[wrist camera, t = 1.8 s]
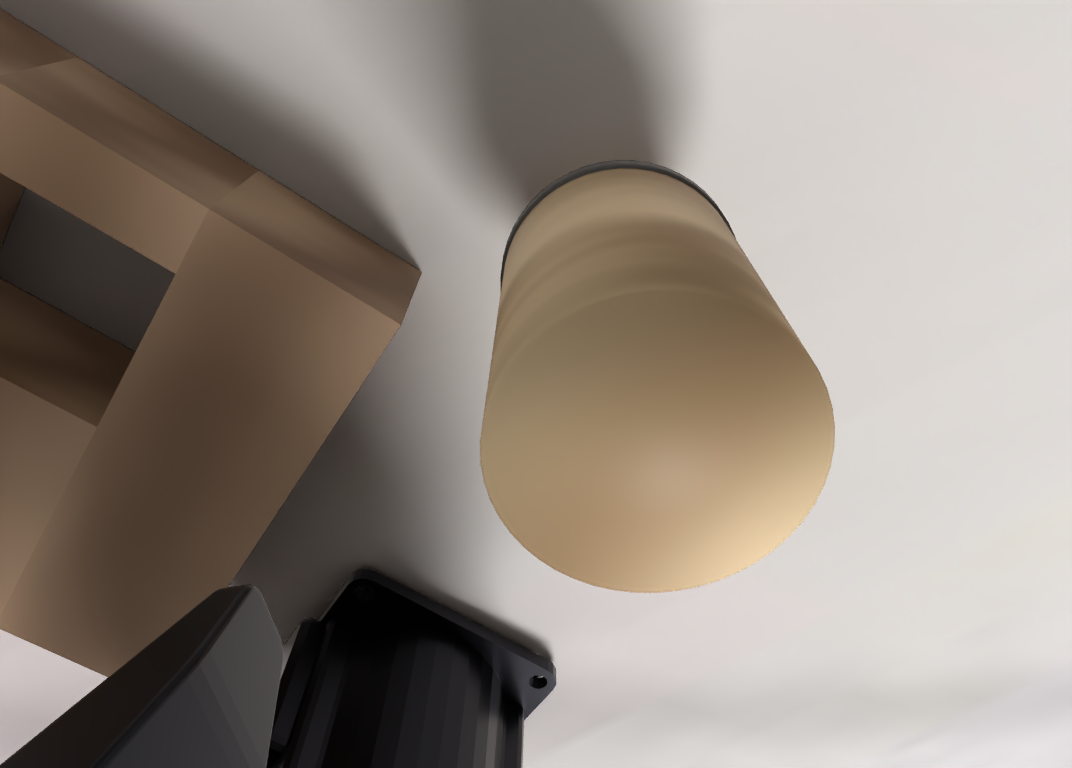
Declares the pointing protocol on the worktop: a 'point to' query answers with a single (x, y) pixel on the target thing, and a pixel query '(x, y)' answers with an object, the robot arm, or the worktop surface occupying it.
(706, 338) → the oak peg
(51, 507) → the walnut block
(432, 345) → the worktop surface
